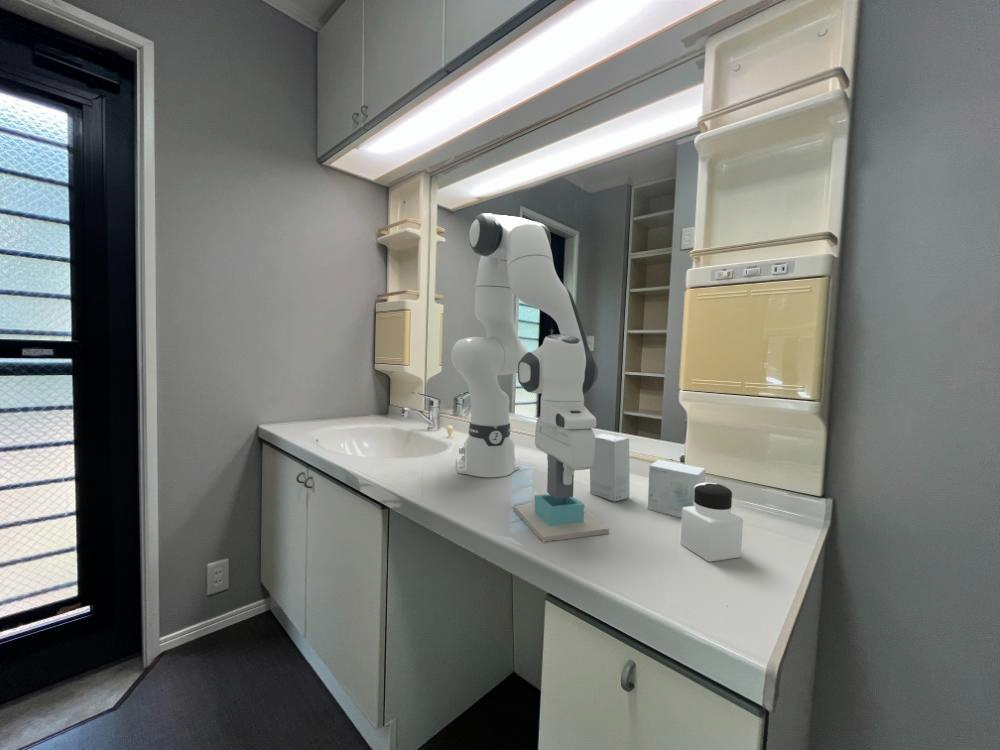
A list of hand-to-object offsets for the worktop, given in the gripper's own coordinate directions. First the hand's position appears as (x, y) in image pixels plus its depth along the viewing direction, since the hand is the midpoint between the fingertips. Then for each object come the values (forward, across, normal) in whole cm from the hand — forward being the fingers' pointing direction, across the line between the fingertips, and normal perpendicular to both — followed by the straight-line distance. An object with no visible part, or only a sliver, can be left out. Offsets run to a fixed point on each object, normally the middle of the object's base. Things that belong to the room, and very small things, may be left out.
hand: (560, 479), depth 86 cm
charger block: (+3, 0, 0) cm, 3 cm away
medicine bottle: (+9, +19, +21) cm, 30 cm away
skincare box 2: (+9, +2, +28) cm, 29 cm away
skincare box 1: (+9, -11, +19) cm, 24 cm away
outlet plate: (+9, 0, 0) cm, 9 cm away
